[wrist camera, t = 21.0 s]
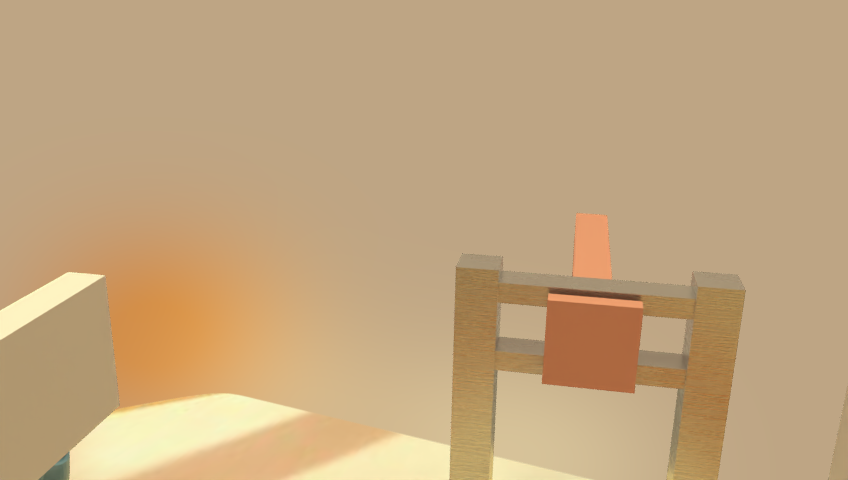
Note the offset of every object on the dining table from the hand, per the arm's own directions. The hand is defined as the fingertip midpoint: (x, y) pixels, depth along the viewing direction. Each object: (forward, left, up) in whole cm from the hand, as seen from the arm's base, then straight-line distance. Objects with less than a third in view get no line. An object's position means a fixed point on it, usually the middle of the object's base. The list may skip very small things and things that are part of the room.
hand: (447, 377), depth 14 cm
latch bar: (-32, +23, -15) cm, 42 cm away
